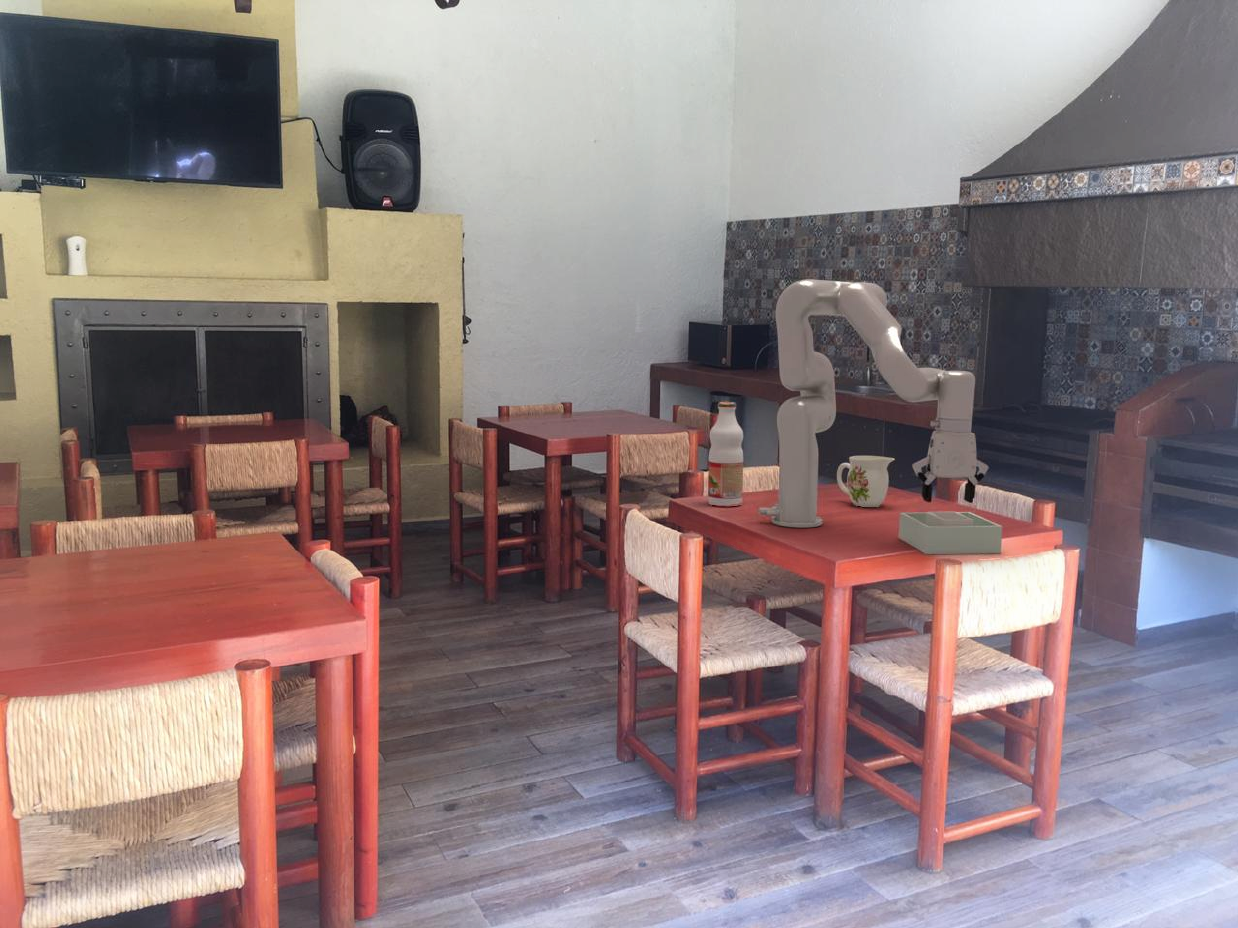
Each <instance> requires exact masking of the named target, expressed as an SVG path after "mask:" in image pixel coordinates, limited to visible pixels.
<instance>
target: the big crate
mask: <svg viewBox="0 0 1238 928" xmlns="http://www.w3.org/2000/svg"><path fill="white" fill-rule="evenodd" d="M958 513H960V514H962V515H964V516H966V517H968V518H971V519H973V520H974V523H973V526H932V527H929V526H928V525H926V512H899V522H898V523H899V524H898V539H900V540H901V541H902V542H904V543H906V544H908V545H910V546H911V547H913V548H915V549H916V550H918V551H920V552H922V553H923V554H925V555H956V554H957V555H960V554H961V555H963V554H964V555H966V554H968V555H970V554H971V555H972V554H974V555H975V554H978V555H979V554H1001V553H1002V541H1003V526H1002V525H1001V524H998V523H996V522H994V521H991V520H989V519H987V518H984V517H982V516H980V515H978V514H975V513H973V512H971V511H958Z"/></svg>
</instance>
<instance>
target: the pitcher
mask: <svg viewBox="0 0 1238 928" xmlns="http://www.w3.org/2000/svg"><path fill="white" fill-rule="evenodd" d="M848 459H849V462H843V463H841V464H840V465H839V466H838V469H837V471H836V481H837V485H838V487H839V488H840V490H842V491H843V493H844V494H846V495H848V496H849V498H850V501H851V502H852V503H853V505H854V506H855V505H857V506H861V507H860V508H862V507H877V508H879V507H880V505H882V504H883V502H884V500H885V498H886V496H887V493H888V488H889V482H890V481H889V472H888V467H889V465H890V463H891V462H893V461H895V458H893V457H886V456H880V455H879V456H877V455H853V456H849V458H848ZM845 468H847V469H849V471H848V473H847V477H846V478H847V480H846V485H845V484H844V483H843V480H842V473H843V471H844V469H845ZM846 486H847V487H846ZM857 506H856V507H857Z"/></svg>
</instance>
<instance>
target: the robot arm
mask: <svg viewBox="0 0 1238 928" xmlns="http://www.w3.org/2000/svg"><path fill="white" fill-rule="evenodd" d="M887 306H888V297H887V293H886V292H885V290H884V288H882V286H880V285H878V284H876V283H874V282H873V283H872V282H862V281H861V282H859V281H858V282H856V281H855V282H850V281H839V280H838V281H837V280H825V279H822V280H821V279H800V280H797V281H795V282H793V283H792V284H790V285H788V286H787V287H786V288H785V289H784V290H783V291H782V293H781V294H780V296H779V297H778V300H777V302H776V305H775V323H776V330H777V346H778V347H777V350H778V365H779V367H778V368H779V376H780V377H779V378H780V382H781V384H782V385H783V387H785V389H787V390H789V391H792V392H796V391H797V392H800V396H794V397H791V398H789V399H787V400H785V401H784V402H783V403H782V404H781V405H780V407H779V409H778V411H777V414H776V427H777V432H778V441H779V444H778V445H779V457H778V459H779V461H778V463H779V465H778V467H779V468H778V495H777V500H778V502H777V503H774V506H773V505H772V506H771V507H759V508H758V515H759V516H766V517H771V521H770V522H771V523H772V524H774V525H776V526H781V527H785V528H800V529H802V528H816V527H820V526H822V525H823V524H824V523H823V522H824V521H823V519H822V517H819V516H817V510H818V509H817V508H818V480H819V477H818V476H819V475H818V474H819V447H818V440H817V438H816V434H819V433H822V432H825V431H827V430H829V429H830V428H831V427H832V426H833V424H834V422H835V420H836V416H837V401H836V387H835V386H836V385H835V384H836V383H835V372H834V368H833V364H832V363H831V361H830V359H829V357H827V356H826V355H825V354H823V353H821V352H818V351H815V349H814V335H813V330H812V327H811V324H810V322H809V317H810V316H831V317H832V316H834V317H844V318H845V319H846V320H847V321H848V323H849V324H850V325H851V327H853V329H854V330H855V331H856V332H857V334H858V335H859V337H861V339H862V340H863V342H864V343H865V344H866V345H867V346H868V347H869V349H870V352H871V354H872V357H873V360H874V363H875V365H876V369H877V370H878V372H879V373H880V375H881V376H882V378H883V379H884V380H885V382H886V383H887V384H888V385H889V386H890V388H891V389H892V390H893V391H894V392H895V394H896V395H897V396H898V397H900V398H901V399H902V400H904V401H906V402H908V403H919V402H921V403H922V402H928V401H930V402H931V401H937V411H936V417H935V420H930V427H931V428H934V429H935V430H934V431H932V433H931V437H930V442H929V445H928V451H927V456H926V457H924V458H922V459H920V460H918V461H916V462H914V463H912V465H911V466H912V469H913V471H914V473H915V476H916V477H917V478H918V479H919V480H920V482H921V483H922V489H921V498H923V499H922V500H923V501H925V502H926V503H931V502H932V495H933V485H932V484H931V483H932V482H933V481H934V480H935V479H936V478H944V479H945V478H948V479H949V478H950V479H951V478H952V479H956V478H957V479H958V478H961V479H964V478H965V480H966V481H967V482H966V483H965V487H964V496H963V497H964V499H963V501H965V502H967V503H969V504H973V502H974V499H975V495H976V486H978V484H979V482H980V481H981V480H983V478H984V477H985V475H986V473H987V471H988V470H989V465H987V464H986V463H984V462H982V461H981V460H980V459H979V460H978V459H977V443H976V442H977V441H976V435H975V433H973V432H972V423H973V422H972V421H973V412H974V411H973V410H974V399H975V386H976V377H975V375H974V374H973V372H971V371H966V370H965V371H964V370H943V369H940V368H936V367H935V368H934V367H917V365H916V364H915V363H914V362H913V361H912V359H910V357H909V356H908V355H907V353H906V352H905V350H904V348H903V346H902V344H901V335H902V330H903V328H902V326H901V324H900V323H899V322H898V321H897V319H895V317H894V316H893V315H892V314H891V313H890V311H889V309H887ZM923 467H926V468H925V469H926V473H925V474H924V473H923V471H922V468H923ZM977 467H978V472H977Z"/></svg>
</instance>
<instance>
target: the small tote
mask: <svg viewBox="0 0 1238 928" xmlns="http://www.w3.org/2000/svg"><path fill="white" fill-rule="evenodd" d="M958 512H959V511H958ZM958 512H957V511H926V512H925V513H926V525H928V526H929V527H932V526H973V523H974V520H973V519H971V518H968V517H966V516H964V515H962V514H960V513H958Z"/></svg>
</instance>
